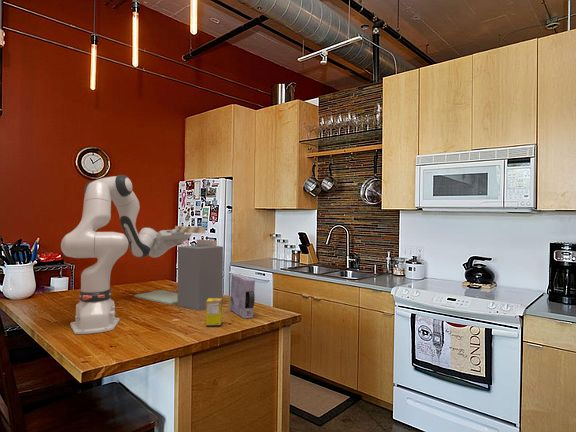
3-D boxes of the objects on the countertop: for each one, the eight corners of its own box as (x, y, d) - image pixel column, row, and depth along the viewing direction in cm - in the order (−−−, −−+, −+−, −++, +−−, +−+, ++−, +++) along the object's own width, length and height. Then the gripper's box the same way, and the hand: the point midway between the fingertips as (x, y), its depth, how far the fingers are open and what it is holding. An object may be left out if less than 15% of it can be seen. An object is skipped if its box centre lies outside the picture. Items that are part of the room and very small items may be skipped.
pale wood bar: (196, 245, 207) (196, 239, 207) (200, 245, 209) (200, 239, 209) (212, 246, 200) (212, 240, 200) (216, 246, 202) (216, 240, 202)
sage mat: (134, 296, 218) (134, 294, 218) (161, 291, 233) (161, 289, 233) (170, 305, 200) (170, 303, 200) (197, 298, 214) (197, 297, 214)
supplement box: (222, 322, 168) (222, 297, 168) (220, 327, 162) (220, 300, 162) (208, 322, 168) (208, 297, 168) (206, 327, 162) (206, 300, 162)
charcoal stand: (177, 305, 198) (177, 246, 198) (201, 300, 211) (201, 244, 211) (198, 310, 189) (199, 248, 189) (222, 304, 202) (222, 246, 202)
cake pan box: (255, 318, 176) (255, 279, 176) (245, 320, 173) (245, 280, 173) (239, 309, 192) (239, 273, 192) (229, 310, 190) (229, 274, 190)
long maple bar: (175, 231, 209) (175, 226, 209) (179, 231, 212) (179, 226, 212) (200, 233, 197) (200, 227, 197) (205, 233, 200) (205, 227, 200)
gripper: (149, 235, 208) (163, 223, 201) (180, 234, 224) (194, 222, 217) (153, 246, 206) (167, 234, 199) (184, 244, 223) (198, 232, 215)
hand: (182, 228), depth 208 cm, fingers closed on long maple bar, 3 cm apart
